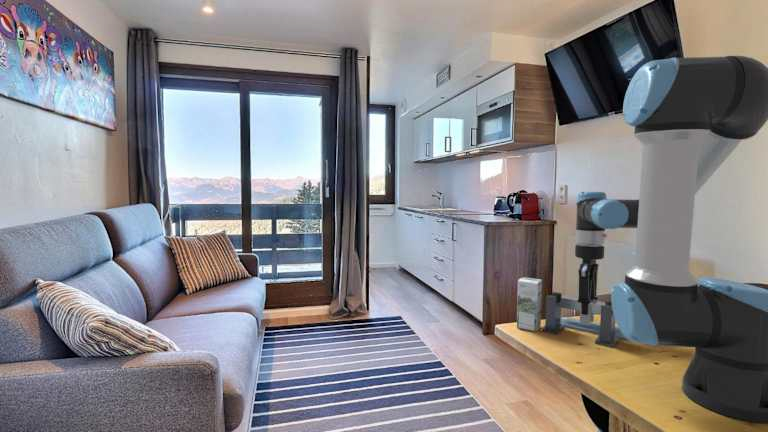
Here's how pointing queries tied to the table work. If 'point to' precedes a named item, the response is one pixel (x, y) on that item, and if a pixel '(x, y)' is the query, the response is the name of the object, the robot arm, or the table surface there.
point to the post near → (607, 326)
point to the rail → (572, 304)
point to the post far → (553, 314)
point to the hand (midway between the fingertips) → (586, 322)
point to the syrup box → (529, 304)
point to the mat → (587, 327)
